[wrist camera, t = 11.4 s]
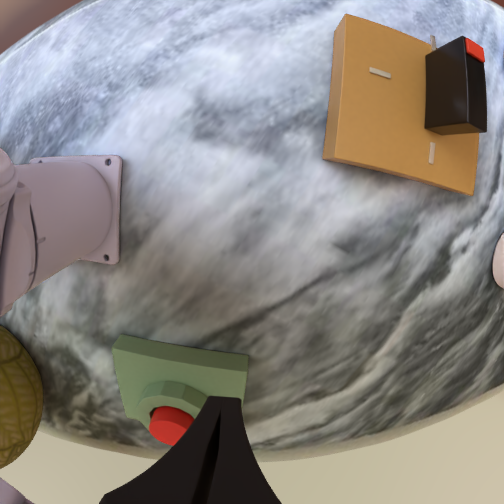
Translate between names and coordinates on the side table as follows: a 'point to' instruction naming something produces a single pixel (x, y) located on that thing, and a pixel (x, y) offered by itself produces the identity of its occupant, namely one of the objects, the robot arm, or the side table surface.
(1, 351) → the decorative sculpture
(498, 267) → the can
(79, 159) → the robot arm
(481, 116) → the black battery pack
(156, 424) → the button
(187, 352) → the button box
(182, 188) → the side table surface
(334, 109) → the brown panel
